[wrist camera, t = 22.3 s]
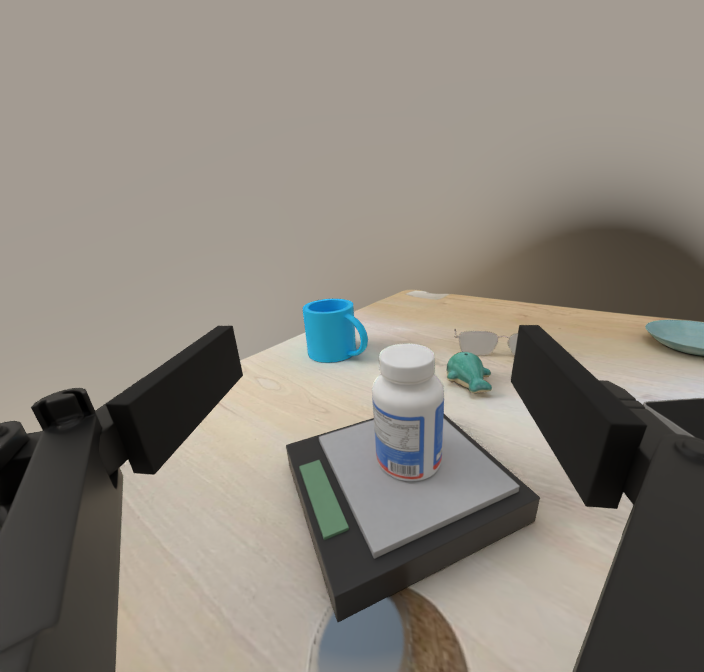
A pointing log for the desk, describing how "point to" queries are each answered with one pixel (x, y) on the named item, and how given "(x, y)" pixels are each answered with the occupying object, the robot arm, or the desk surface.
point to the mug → (332, 330)
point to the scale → (399, 511)
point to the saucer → (679, 335)
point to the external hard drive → (680, 415)
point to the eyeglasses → (483, 342)
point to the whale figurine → (468, 372)
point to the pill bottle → (408, 412)
